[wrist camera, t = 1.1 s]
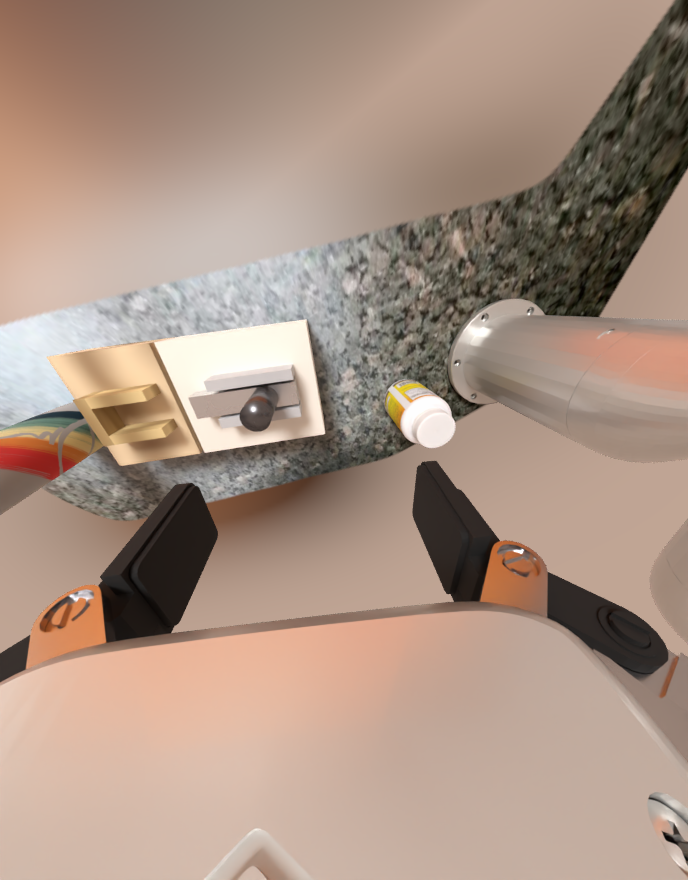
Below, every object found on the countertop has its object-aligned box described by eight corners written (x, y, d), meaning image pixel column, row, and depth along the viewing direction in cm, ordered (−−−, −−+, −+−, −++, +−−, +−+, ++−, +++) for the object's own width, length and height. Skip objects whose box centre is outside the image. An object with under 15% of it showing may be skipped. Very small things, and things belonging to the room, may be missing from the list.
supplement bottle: (400, 424, 35) (429, 464, 26) (374, 399, 33) (397, 434, 24) (431, 396, 34) (474, 429, 25) (406, 368, 32) (443, 393, 23)
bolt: (295, 376, 25) (289, 398, 19) (300, 398, 26) (296, 426, 20) (196, 390, 25) (158, 417, 19) (205, 412, 26) (172, 444, 20)
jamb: (175, 337, 27) (131, 346, 21) (215, 433, 33) (191, 465, 26) (90, 348, 27) (18, 362, 20) (146, 444, 32) (104, 478, 26)
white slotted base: (306, 319, 28) (305, 323, 21) (323, 417, 33) (326, 444, 27) (179, 336, 27) (137, 346, 21) (219, 433, 33) (196, 464, 26)
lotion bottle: (129, 428, 31) (-104, 583, 14) (98, 450, 32) (-160, 622, 15) (85, 391, 29) (-273, 524, 11) (52, 415, 29) (-328, 575, 12)
